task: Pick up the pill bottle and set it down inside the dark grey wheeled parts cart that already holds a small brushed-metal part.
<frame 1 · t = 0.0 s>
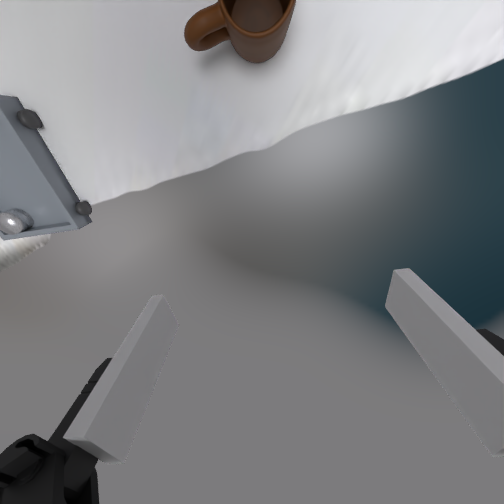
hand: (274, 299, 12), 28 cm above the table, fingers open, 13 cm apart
cart: (19, 175, 36), on the table
metal part: (22, 218, 39), point 1 cm above the table, touching cart
mug: (241, 35, 26), on the table
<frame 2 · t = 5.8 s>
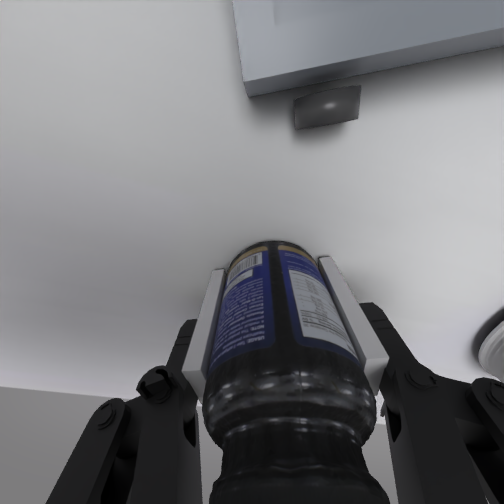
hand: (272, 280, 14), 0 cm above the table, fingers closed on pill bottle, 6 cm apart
pill bottle: (272, 274, 14), on the table, touching gripper
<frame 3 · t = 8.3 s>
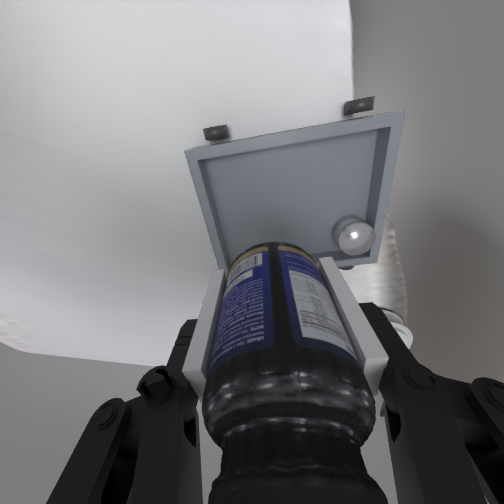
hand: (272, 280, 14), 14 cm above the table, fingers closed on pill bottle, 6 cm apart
cart: (289, 204, 26), on the table
metal part: (348, 229, 26), point 1 cm above the table, touching cart
pill bottle: (272, 274, 14), point 14 cm above the table, touching gripper
lid: (362, 328, 38), on the table
when the fingers open (4 cm above the table, at t = 10.8 s): pill bottle drops 2 cm, resting on cart.
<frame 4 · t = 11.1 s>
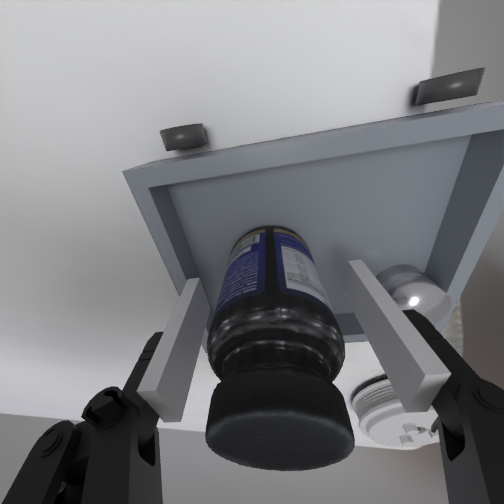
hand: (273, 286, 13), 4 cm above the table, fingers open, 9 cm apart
cart: (306, 246, 17), on the table
metal part: (395, 284, 17), point 1 cm above the table, touching cart
pill bottle: (270, 257, 16), point 1 cm above the table, touching cart
lid: (394, 390, 29), on the table
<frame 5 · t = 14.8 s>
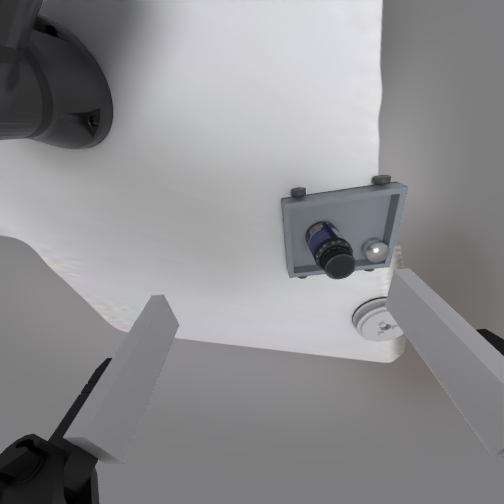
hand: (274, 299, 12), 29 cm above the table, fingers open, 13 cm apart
cart: (334, 230, 41), on the table
metal part: (371, 245, 41), point 1 cm above the table, touching cart
pill bottle: (320, 234, 40), point 1 cm above the table, touching cart
lid: (376, 312, 53), on the table
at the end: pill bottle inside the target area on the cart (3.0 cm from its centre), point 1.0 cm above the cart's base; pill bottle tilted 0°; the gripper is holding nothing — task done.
